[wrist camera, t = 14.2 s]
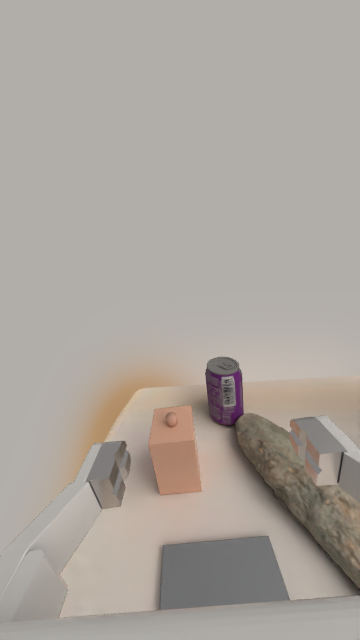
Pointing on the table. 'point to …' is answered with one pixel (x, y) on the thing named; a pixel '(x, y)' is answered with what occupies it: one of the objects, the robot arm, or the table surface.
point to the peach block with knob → (175, 450)
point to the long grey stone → (304, 492)
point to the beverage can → (224, 390)
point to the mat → (220, 574)
